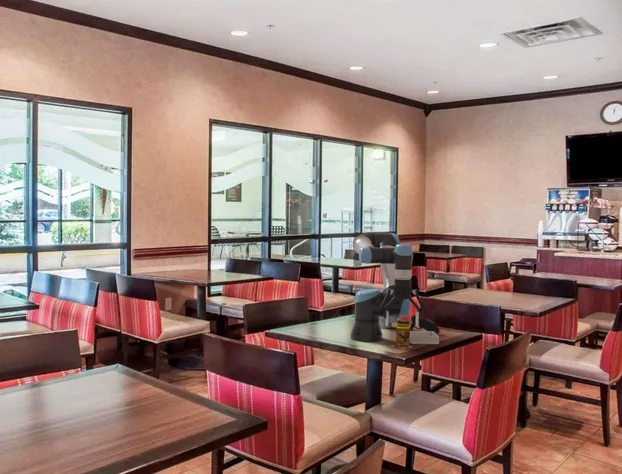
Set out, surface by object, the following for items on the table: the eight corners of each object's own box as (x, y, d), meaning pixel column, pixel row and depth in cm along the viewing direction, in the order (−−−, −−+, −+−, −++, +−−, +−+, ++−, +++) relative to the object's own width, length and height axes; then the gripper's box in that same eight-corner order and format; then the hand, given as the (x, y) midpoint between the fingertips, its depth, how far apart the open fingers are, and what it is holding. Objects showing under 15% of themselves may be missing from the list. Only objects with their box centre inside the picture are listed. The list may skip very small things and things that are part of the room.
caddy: (410, 343, 271) (411, 336, 271) (406, 338, 283) (406, 330, 283) (438, 344, 272) (439, 336, 271) (433, 338, 284) (433, 331, 283)
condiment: (404, 349, 260) (405, 322, 259) (388, 346, 266) (389, 319, 265) (413, 346, 265) (414, 320, 265) (398, 343, 271) (398, 318, 270)
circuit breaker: (396, 330, 302) (397, 301, 302) (371, 327, 310) (372, 298, 309) (402, 328, 309) (403, 299, 308) (377, 325, 316) (378, 297, 316)
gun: (433, 345, 293) (443, 328, 293) (405, 330, 293) (415, 313, 293) (432, 344, 296) (442, 327, 296) (404, 329, 296) (414, 312, 296)
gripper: (376, 279, 260) (375, 326, 261) (432, 280, 260) (431, 327, 261) (374, 277, 268) (373, 323, 268) (428, 278, 268) (427, 324, 269)
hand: (401, 325), depth 265 cm, fingers open, 13 cm apart
